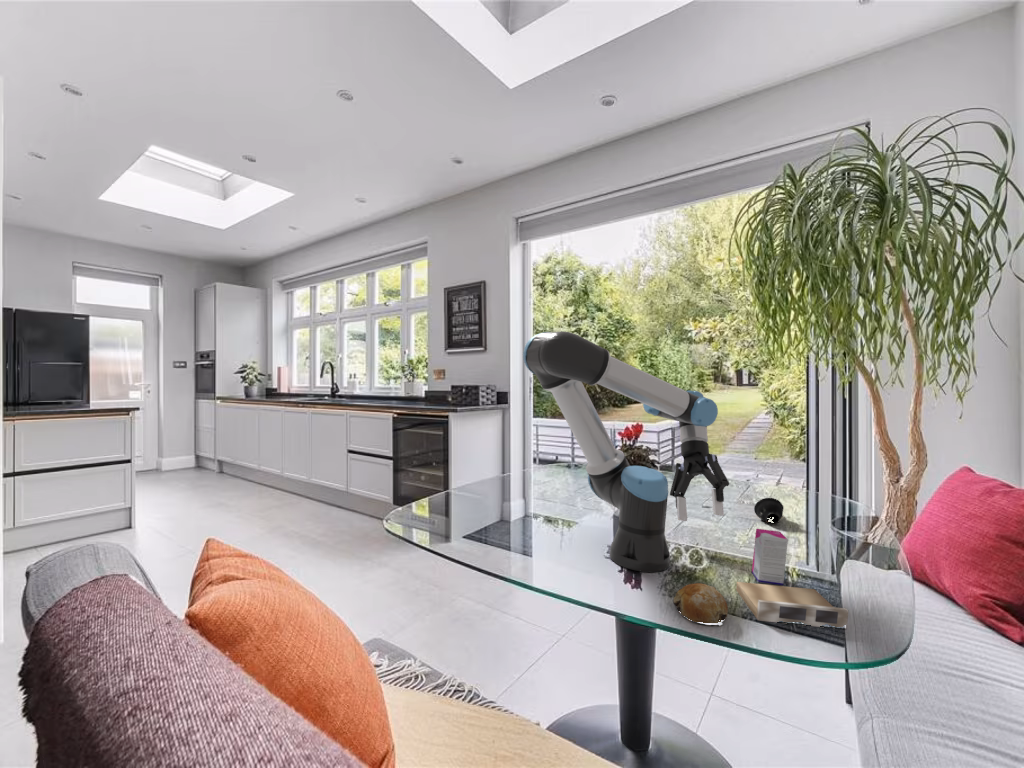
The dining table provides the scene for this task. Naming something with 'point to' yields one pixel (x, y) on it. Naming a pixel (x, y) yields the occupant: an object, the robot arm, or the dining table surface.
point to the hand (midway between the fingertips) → (699, 518)
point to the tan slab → (790, 605)
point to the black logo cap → (769, 509)
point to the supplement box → (769, 556)
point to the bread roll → (701, 603)
